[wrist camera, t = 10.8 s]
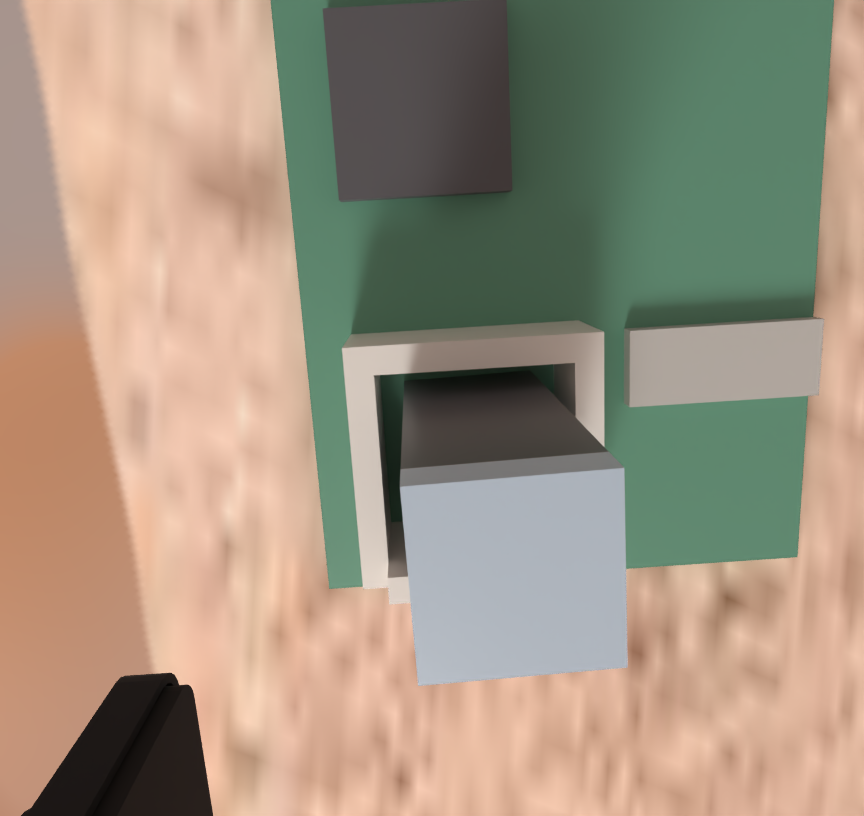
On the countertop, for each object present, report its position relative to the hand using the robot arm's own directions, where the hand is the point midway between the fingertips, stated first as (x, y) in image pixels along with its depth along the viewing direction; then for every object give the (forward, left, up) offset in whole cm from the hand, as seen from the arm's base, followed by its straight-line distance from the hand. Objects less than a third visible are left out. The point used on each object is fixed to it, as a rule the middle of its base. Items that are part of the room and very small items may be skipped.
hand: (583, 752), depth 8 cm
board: (-5, +3, -16) cm, 17 cm away
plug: (0, 0, -15) cm, 15 cm away
